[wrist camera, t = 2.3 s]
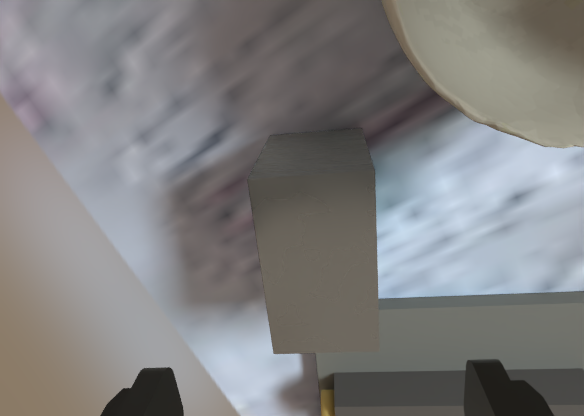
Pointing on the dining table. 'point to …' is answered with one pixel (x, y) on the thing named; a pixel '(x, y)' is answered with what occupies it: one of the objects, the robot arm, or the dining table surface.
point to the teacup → (501, 61)
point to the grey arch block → (317, 241)
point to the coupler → (459, 354)
